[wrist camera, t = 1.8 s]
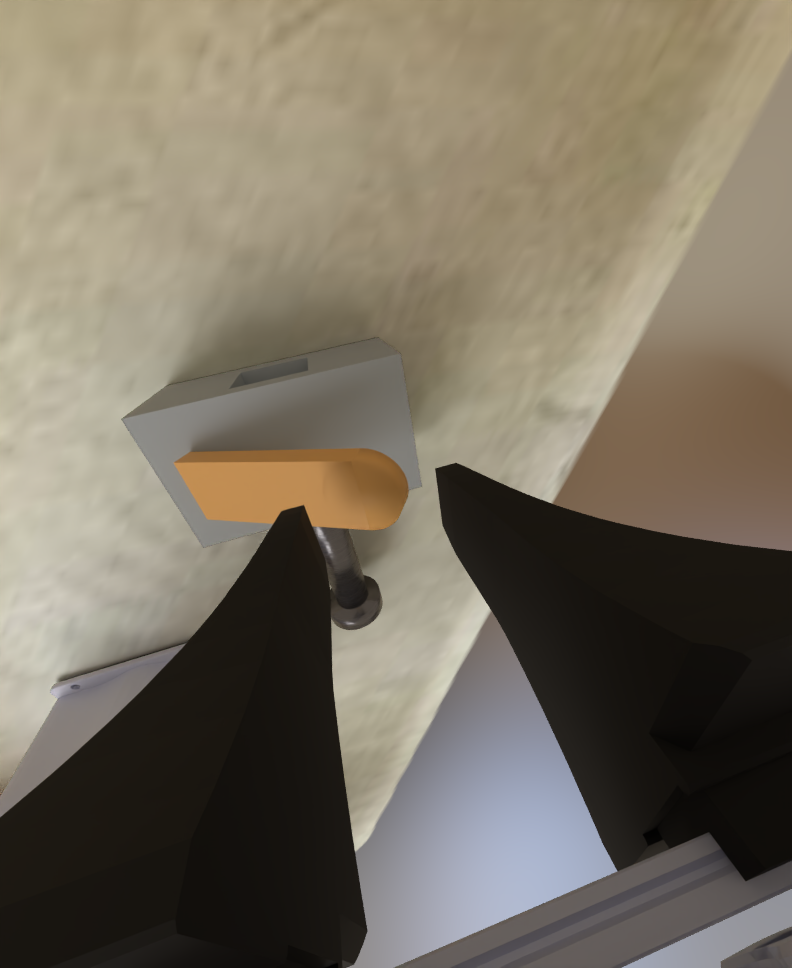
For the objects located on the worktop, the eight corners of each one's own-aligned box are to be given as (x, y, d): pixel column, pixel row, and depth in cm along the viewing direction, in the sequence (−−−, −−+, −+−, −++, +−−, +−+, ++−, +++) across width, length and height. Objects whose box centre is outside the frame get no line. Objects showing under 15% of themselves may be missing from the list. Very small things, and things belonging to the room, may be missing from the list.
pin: (377, 579, 24) (387, 619, 21) (329, 593, 23) (332, 637, 20) (334, 434, 18) (340, 463, 15) (269, 451, 17) (262, 483, 15)
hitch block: (223, 493, 19) (203, 547, 15) (166, 386, 16) (121, 419, 12) (398, 446, 20) (422, 486, 16) (378, 337, 17) (400, 353, 13)
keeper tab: (221, 507, 14) (207, 519, 14) (190, 451, 13) (173, 462, 12) (414, 516, 11) (408, 532, 11) (401, 447, 10) (393, 461, 9)
